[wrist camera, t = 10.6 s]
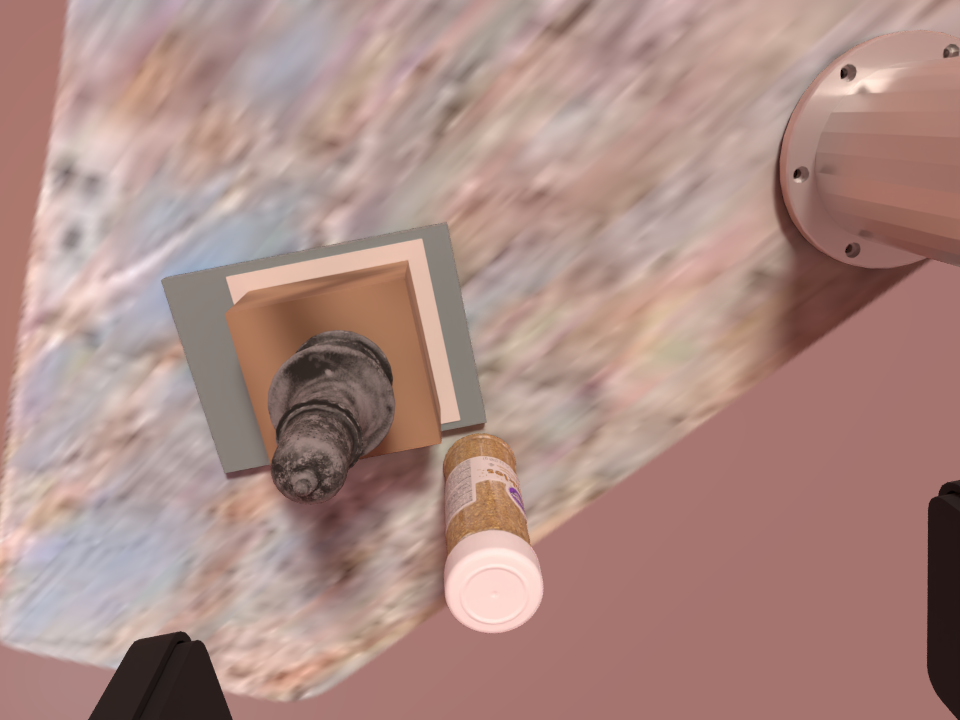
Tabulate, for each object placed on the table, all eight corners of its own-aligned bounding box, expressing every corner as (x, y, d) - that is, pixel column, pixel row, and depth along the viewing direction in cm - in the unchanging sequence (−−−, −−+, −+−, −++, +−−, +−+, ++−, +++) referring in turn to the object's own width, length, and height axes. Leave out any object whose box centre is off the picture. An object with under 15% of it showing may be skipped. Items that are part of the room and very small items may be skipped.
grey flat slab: (446, 222, 42) (447, 224, 41) (485, 417, 46) (486, 422, 45) (166, 277, 42) (160, 280, 41) (228, 467, 46) (224, 474, 45)
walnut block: (408, 259, 41) (404, 278, 37) (440, 408, 44) (441, 443, 39) (248, 291, 41) (224, 313, 37) (291, 437, 44) (274, 475, 39)
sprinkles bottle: (530, 461, 47) (565, 591, 34) (480, 509, 48) (497, 655, 35) (476, 415, 45) (492, 532, 33) (426, 466, 46) (423, 600, 34)
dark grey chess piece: (366, 451, 39) (338, 587, 28) (262, 401, 38) (189, 523, 27) (419, 357, 38) (412, 462, 27) (313, 303, 37) (259, 387, 25)
